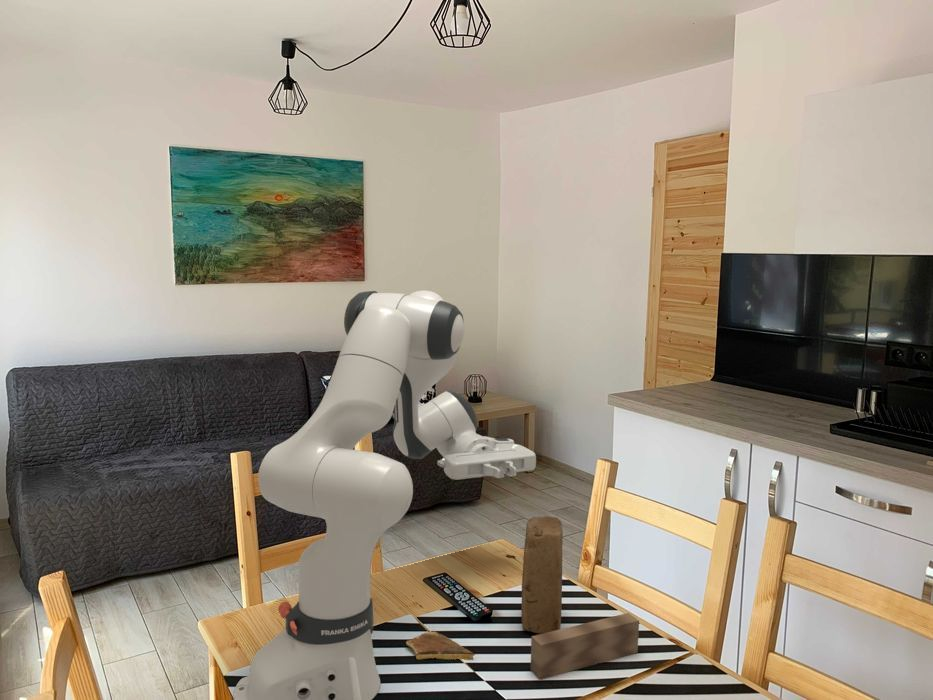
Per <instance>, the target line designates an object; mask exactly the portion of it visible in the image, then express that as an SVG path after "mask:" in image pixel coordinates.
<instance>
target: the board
mask: <svg viewBox="0 0 933 700" xmlns="http://www.w3.org/2000/svg"><path fill="white" fill-rule="evenodd" d="M639 630H640V620H639V619H637V617H634V615H633V614H630V613H629V612H626V613H621V614H618V615H613V616H610V617H606V618H601V619H597V620H593V621H589V622H585V623H584V622H583V623H582V624H576V625H573V626H568V627H564V628H560V629H559V630H556V631H551V632H547V633H543V634H540V633H538V634H536V635H532V636H531V640H530V643H531V644H530V671H531V673H533V674H534V675H535V677H537V678H538V679H539V680H540V679H541V680H544V679H547V678H551V677H554V675H555V676H559V675H563V674H566V673H569V671H570V672H573V671H576V670H581V669H584V668H587V667H591V666H594V665H598V663H599V664H602V663H605V662H610V661H613V660H616V659H621V658H624V657H628V656H631V654H632V655H634V654H637V653H638V650H639V633H640V631H639ZM627 655H628V656H627ZM558 674H559V675H558ZM543 678H544V679H543Z"/></svg>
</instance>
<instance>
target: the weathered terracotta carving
mask: <svg viewBox="0 0 933 700" xmlns="http://www.w3.org/2000/svg"><path fill="white" fill-rule="evenodd" d="M563 532H564V531H563V524H562V521H561V520H560V519H559V518H558V517H554V516H553V517H552V516H533V517H530V518H529V519H528V520H527V522H526V528H525V540H524V546H523V547H524V548H523V562H522V563H523V564H522V574H521V575H522V576H521V577H522V580H521V624H522V627H523V629H524V630H526V631H527V632H531V633H535V634H543V633H547V632H551V631H556V630H560V629H561V624H562V605H563V604H562V603H563V600H562V599H563V598H562V597H563V541H564V538H563Z"/></svg>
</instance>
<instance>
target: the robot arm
mask: <svg viewBox="0 0 933 700" xmlns="http://www.w3.org/2000/svg"><path fill="white" fill-rule="evenodd" d="M345 308H346V309H345V312H344V318H343V325H344V331H345V334H346V337H345V339H344V342H343V344H342V347H341V349H340V351H339V355H338V358H337V361H336V364H335V366H334V369H333V372H332V375H331V378H330V379H329V380H330V381H329V382H328V386H327V387H326V390H325V393H324V395H323V397H322V400H321V401H320V403H319V405H318V406H317V408H316V410H315V411H314V413H313V414H312V415H311V416H310V418H309V419H308V420H307V422H305V423H304V425H303V426H302V427H301V428H300V429H298V430H297V432H295V433H294V434H293V435H292V436H291V437H289V438H288V439H286V440H284V441H283V442H281V443H279V444H277V445H275V446H273V447H272V448H271V449H270V450H269V451H268V452H267V453H266V455H264V458H263V459H262V461H261V464H260V466H259V469H258V474H257V475H258V476H257V477H258V478H257V481H258V488H259V491H260V493H261V496H262V497H263V498H264V499H265V500H266V501H267V502H269V503H271V504H273V505H275V506H276V507H278V508H281V509H283V510H285V511H288V512H291V513H295V514H299V515H304V516H310V517H314V518H319V519H323V520H325V523H326V524H325V525H326V531H325V536H324V537H321V538H319V539H317V540H315V541H312V543H310V544H309V545H308V546H307V547H306V548H305V549H304V551H303V552H302V554H301V556H300V557H299V561H298V565H297V566H298V567H297V568H298V601H297V603H296V604H295V605H294V606H293V607H292V605H291V603H290V602H288V601H282V602H281V603H280V604H279V605H278V608H277V610H278V613H279V615H280V617H281V618H282V619H285V628H284V629H283V630H282V631H281V632H279V633H278V634H277V635H275V636H274V637H273V638H272V639H271V640H269V641H268V642H267V643H265V644H264V645H263V646H262V647H261V648H259V649H258V650H257V651H256V652H255V654H254V656H253V658H252V661H251V665H250V667H249V674H248V675H247V676H245V677H242V678H241V679H240V680H239V681H238V682H237V684H236V686H235V688H234V692H233V700H373V699H374V698H375V697H376V696H377V694H378V692H379V691H380V688H381V678H380V675H379V672H378V669H377V665H376V660H375V656H374V655H375V654H374V653H375V652H374V647H373V639H372V634H373V632H374V624H375V621H374V620H375V615H374V614H375V611H374V609H375V608H374V604H373V603H374V601H373V599H372V598H371V577H372V576H371V574H372V573H371V572H372V561H373V556H374V555H373V554H374V552H375V549H376V545H377V543H378V541H379V540H380V538H381V537H382V535H383V534H384V533H385V532H386V531H387V530H388V529H390V528H391V527H392V526H394V525H396V524H397V523H398V522H399V521H401V520H402V519H403V517H404V516H405V515H406V513H407V512H408V510H409V509H410V506H411V503H412V500H413V495H414V485H413V479H412V477H411V474H410V472H409V469H408V468H407V466H406V465H405V464H404V463H403V462H400V461H398V460H396V459H393V458H391V457H388V456H385V455H383V454H380V453H377V452H372V451H365V450H359V449H354V448H355V447H356V445H358V443H359V442H360V441H362V439H364V438H365V437H367V436H368V435H370V434H372V433H374V432H377V431H379V430H381V429H382V428H384V427H385V426H386V425H387V424H388V422H389V421H390V420H391V418H392V416H393V415H394V417H393V418H394V423H393V427H392V436H393V440H394V442H395V445H396V446H397V448H398V450H399V451H400V452H401V454H402V455H403V456H405V457H406V458H409V459H414V460H417V459H418V460H422V459H423V458H425V457H427V455H428V454H430V453H431V452H433V450H435V449H437V451H438V452H439V454H440V455H441V456H442V457H443V458H440V459H438V460H437V462H436V464H437V466H439V467H440V468H443V471H444V473H445V475H446V476H447V477H448V478H450V479H451V480H459V481H460V480H466V479H474V478H482V477H494V478H496V479H501V478H505V475H506V476H507V477H516V476H517V473H520V472H521V473H522V472H527V471H535V469H536V466H537V455H536V453H535V452H534V451H533V450H531V449H529V448H527V447H525V446H523V445H521V444H517V443H515V441H514V439H512V438H501V437H499V438H498V437H490V436H487V435H484V436H483V435H481V434H478V433H477V432H476V431H477V429H478V419H477V416H476V413H475V411H474V408H473V407H472V405H471V403H470V401H468V400H467V399H466V398H465V397H464V396H463V395H461V394H460V393H457V392H455V391H452V390H445V391H444V392H442V393H440V394H439V395H437V396H435V397H433V398H432V399H431V400H429V401H428V402H426V403H425V404H422V405H420V404H419V403H420V401H421V399H422V398H423V396H425V394H426V393H427V392H428V391H429V390H430V389H431V388H432V387H433V386H434V385H435V384H437V383H438V382H439V381H440V380H442V379H443V378H444V377H445V376H446V375H447V374H448V373H449V372H450V371H451V370H452V369H453V367H454V365H455V363H456V360H457V357H458V351H459V349H460V347H461V344H462V342H463V339H464V335H465V324H464V323H465V322H464V315H463V313H462V312H461V311H460V309H459V308H458V307H457V305H454V304H452V303H450V302H447V301H445V300H444V298H442V296H441V295H439V294H438V293H437V292H434V291H432V290H426V289H425V290H423V289H421V290H416V291H414V292H412V293H410V294H407V293H399V292H378V291H376V290H369V291H361V292H358V293H356V294H355V295H354V296H353V297H352V298H351V299H350V300H349V302H348V304H347V305H346V307H345ZM419 405H420V407H419ZM393 413H394V414H393Z"/></svg>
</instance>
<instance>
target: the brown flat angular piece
mask: <svg viewBox="0 0 933 700" xmlns="http://www.w3.org/2000/svg"><path fill="white" fill-rule="evenodd" d="M405 643H406V644H405V645H406V646H408V647H409V648H411V649H412V650H413V651H414V654H415V658H416V660H427V659H434V658H436V659H435V660H453V659H454V660H456V659H464V660H472V659H473V660H474V656H476V653H475V652H472V651H470V650H469V649H467V648H466V647H464V646H461V645H460V644H459V643H458V642H456V641H454V640H452V639H451V638H449V637H447V636H445V635H444V634H442V633H439V632H438V631H427V632H424V633H421V634H419V635H417V636H415V637H413V638H410V639H408V640H406V642H405Z"/></svg>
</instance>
